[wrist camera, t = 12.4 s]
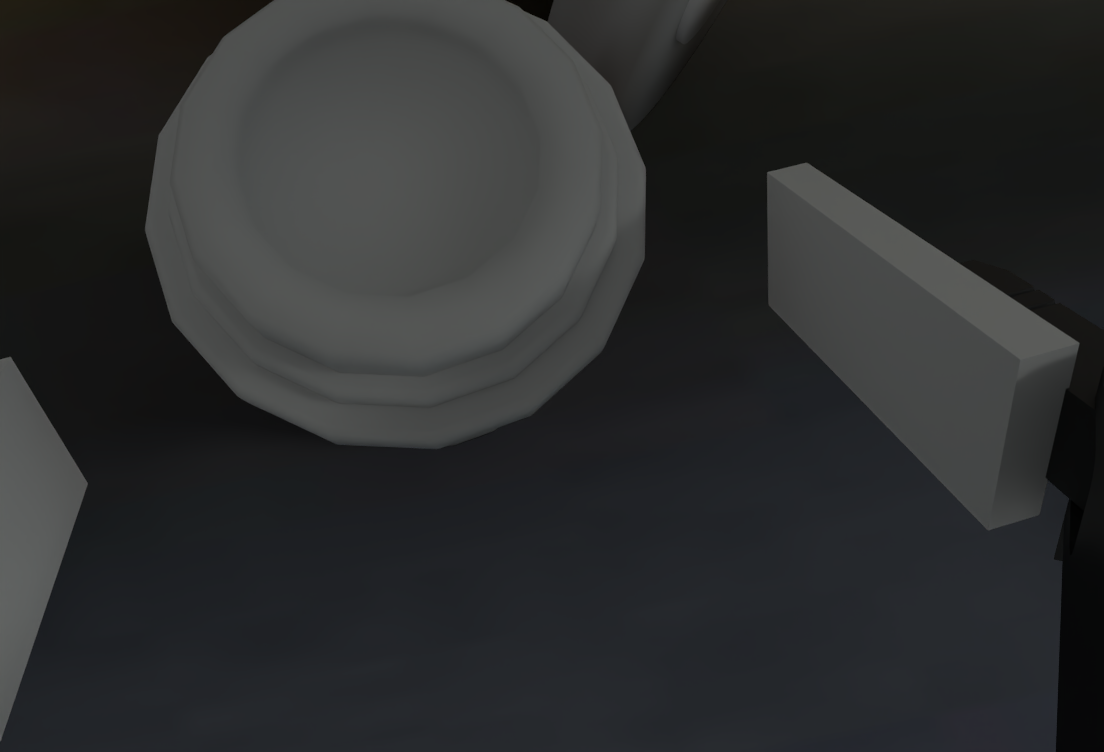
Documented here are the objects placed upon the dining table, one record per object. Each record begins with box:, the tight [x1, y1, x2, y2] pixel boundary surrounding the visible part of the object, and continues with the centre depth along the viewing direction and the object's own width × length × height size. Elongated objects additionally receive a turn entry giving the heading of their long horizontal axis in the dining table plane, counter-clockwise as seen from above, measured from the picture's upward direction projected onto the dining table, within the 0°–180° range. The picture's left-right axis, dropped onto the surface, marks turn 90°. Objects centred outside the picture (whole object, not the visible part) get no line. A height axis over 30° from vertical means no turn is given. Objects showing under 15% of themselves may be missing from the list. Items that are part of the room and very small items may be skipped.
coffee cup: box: [145, 0, 646, 449], centre depth 20 cm, size 9×9×12 cm
